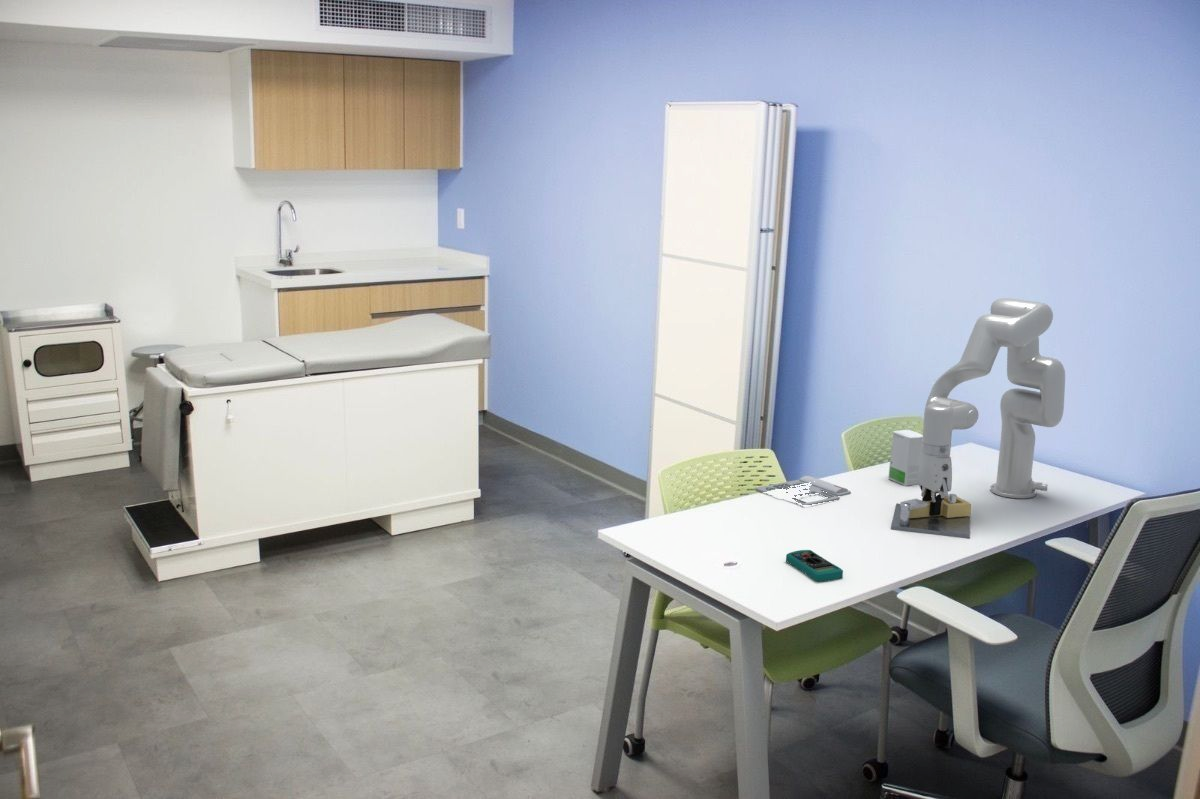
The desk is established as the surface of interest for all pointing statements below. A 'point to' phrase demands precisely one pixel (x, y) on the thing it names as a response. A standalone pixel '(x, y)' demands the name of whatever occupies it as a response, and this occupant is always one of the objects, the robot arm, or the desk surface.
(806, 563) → the digital multimeter
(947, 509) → the link
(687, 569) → the desk surface
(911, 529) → the pintle plate
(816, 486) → the office telephone
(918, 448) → the skincare box
